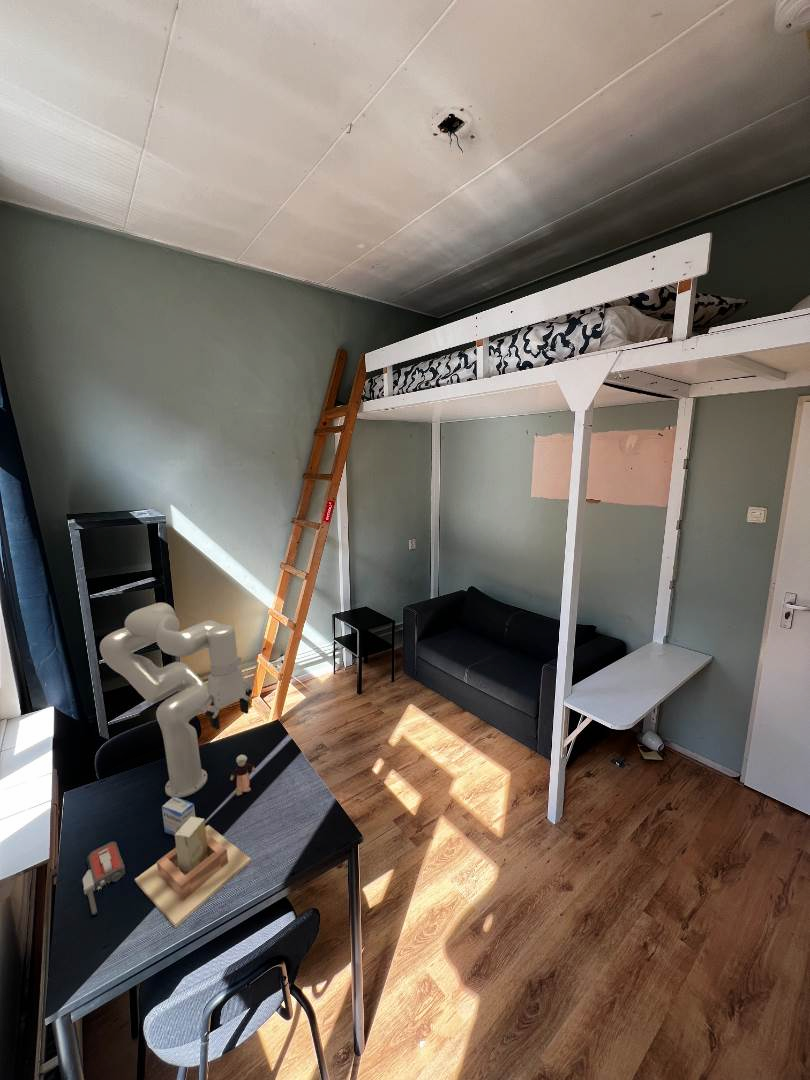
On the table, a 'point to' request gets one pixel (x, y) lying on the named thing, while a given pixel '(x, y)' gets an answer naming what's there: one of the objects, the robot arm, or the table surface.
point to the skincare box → (191, 844)
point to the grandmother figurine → (242, 774)
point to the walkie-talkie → (102, 870)
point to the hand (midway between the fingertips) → (230, 719)
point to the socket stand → (191, 878)
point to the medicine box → (176, 814)
